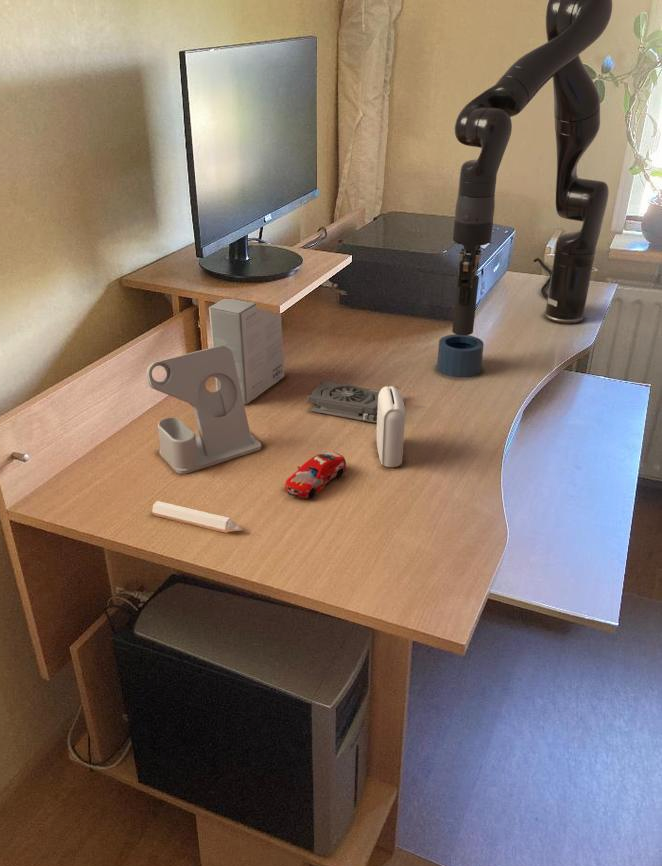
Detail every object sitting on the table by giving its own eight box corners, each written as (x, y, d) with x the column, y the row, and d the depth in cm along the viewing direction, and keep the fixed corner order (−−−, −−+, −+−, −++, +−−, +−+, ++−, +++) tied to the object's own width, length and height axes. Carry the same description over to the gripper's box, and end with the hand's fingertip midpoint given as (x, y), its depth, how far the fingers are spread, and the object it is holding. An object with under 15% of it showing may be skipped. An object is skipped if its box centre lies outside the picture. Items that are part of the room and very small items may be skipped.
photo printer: (374, 440, 147) (376, 380, 140) (397, 439, 147) (400, 379, 140) (379, 468, 138) (382, 406, 131) (403, 468, 138) (407, 405, 131)
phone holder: (178, 476, 137) (167, 382, 127) (155, 451, 144) (142, 361, 134) (263, 448, 145) (259, 358, 135) (237, 426, 152) (232, 339, 142)
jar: (440, 359, 177) (442, 332, 174) (482, 364, 175) (486, 336, 171) (433, 376, 170) (435, 348, 166) (477, 381, 167) (481, 353, 164)
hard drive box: (255, 370, 174) (251, 282, 163) (285, 377, 170) (282, 288, 160) (215, 398, 162) (207, 305, 152) (246, 406, 159) (240, 312, 148)
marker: (244, 539, 122) (155, 517, 127) (249, 527, 123) (161, 505, 128) (240, 532, 120) (150, 510, 125) (245, 520, 121) (155, 498, 126)
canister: (453, 326, 170) (458, 272, 163) (474, 328, 169) (480, 274, 162) (450, 334, 167) (455, 279, 160) (471, 336, 165) (477, 280, 159)
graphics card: (403, 384, 159) (383, 408, 149) (402, 401, 160) (382, 426, 151) (326, 372, 165) (303, 394, 155) (326, 388, 167) (303, 411, 157)
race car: (303, 505, 129) (303, 485, 127) (279, 494, 132) (278, 473, 130) (351, 471, 137) (352, 452, 135) (327, 461, 140) (327, 442, 138)
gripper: (489, 228, 148) (479, 314, 157) (497, 209, 159) (487, 291, 169) (449, 225, 150) (442, 311, 159) (460, 207, 161) (452, 288, 171)
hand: (465, 300), depth 164 cm, fingers closed on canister, 4 cm apart
